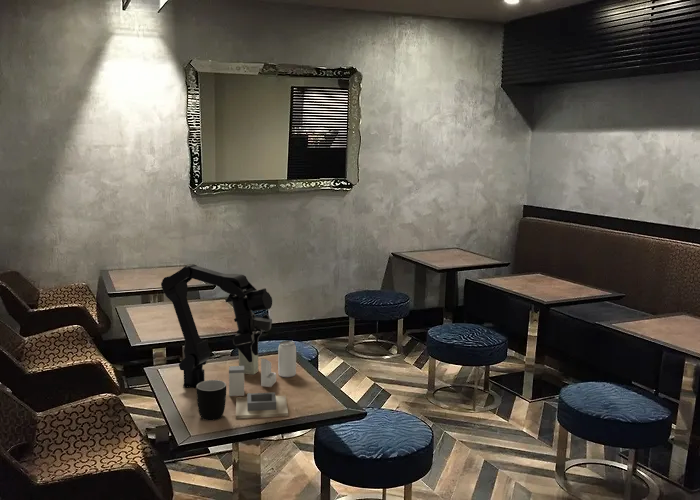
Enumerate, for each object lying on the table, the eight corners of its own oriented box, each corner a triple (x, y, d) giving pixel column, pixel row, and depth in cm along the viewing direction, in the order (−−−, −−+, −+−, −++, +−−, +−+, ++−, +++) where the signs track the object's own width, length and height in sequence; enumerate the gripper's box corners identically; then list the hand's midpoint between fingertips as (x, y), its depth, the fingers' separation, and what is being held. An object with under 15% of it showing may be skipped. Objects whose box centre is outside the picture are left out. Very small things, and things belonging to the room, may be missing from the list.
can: (299, 373, 229) (299, 342, 227) (288, 379, 223) (288, 347, 221) (285, 370, 232) (285, 339, 230) (274, 375, 227) (274, 343, 225)
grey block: (229, 396, 207) (228, 370, 205) (229, 391, 211) (229, 366, 209) (244, 395, 208) (244, 369, 206) (244, 390, 212) (244, 365, 210)
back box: (247, 410, 193) (247, 403, 193) (247, 400, 201) (247, 393, 200) (276, 409, 195) (276, 402, 194) (275, 399, 202) (275, 392, 202)
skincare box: (258, 371, 231) (258, 339, 229) (253, 375, 226) (253, 343, 224) (243, 369, 232) (243, 337, 230) (238, 373, 228) (237, 341, 226)
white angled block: (256, 383, 212) (261, 358, 215) (265, 388, 221) (269, 364, 224) (266, 384, 211) (271, 359, 214) (274, 389, 220) (278, 364, 223)
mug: (230, 419, 189) (229, 387, 187) (200, 424, 185) (200, 392, 183) (219, 404, 200) (219, 374, 198) (191, 409, 195) (190, 379, 194)
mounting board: (235, 418, 190) (235, 415, 190) (236, 400, 203) (236, 397, 203) (288, 416, 192) (288, 413, 192) (285, 398, 206) (285, 395, 206)
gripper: (261, 313, 195) (272, 360, 196) (271, 303, 213) (281, 347, 214) (227, 320, 195) (238, 367, 196) (240, 310, 214) (250, 353, 215)
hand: (253, 358), depth 206 cm, fingers open, 9 cm apart
